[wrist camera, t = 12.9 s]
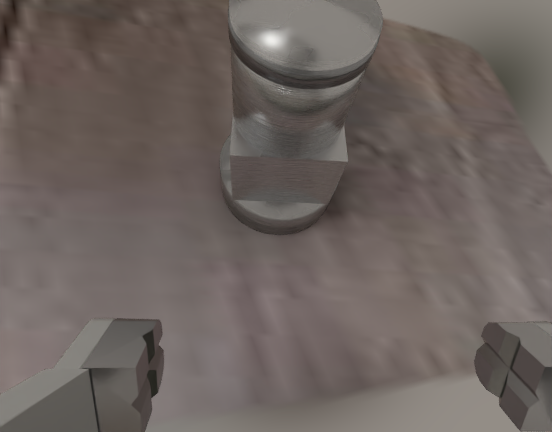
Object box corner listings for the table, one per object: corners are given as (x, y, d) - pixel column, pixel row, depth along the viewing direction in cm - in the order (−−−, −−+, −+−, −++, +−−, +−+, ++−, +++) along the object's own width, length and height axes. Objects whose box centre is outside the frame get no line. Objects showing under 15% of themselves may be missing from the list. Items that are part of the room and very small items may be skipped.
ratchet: (312, 251, 20) (335, 209, 15) (203, 210, 20) (190, 156, 15) (375, 64, 27) (404, -5, 23) (294, 37, 28) (305, -35, 23)
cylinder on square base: (231, 200, 18) (221, 55, 10) (236, 123, 20) (232, -45, 12) (328, 204, 18) (395, 68, 10) (322, 129, 21) (373, -31, 13)
